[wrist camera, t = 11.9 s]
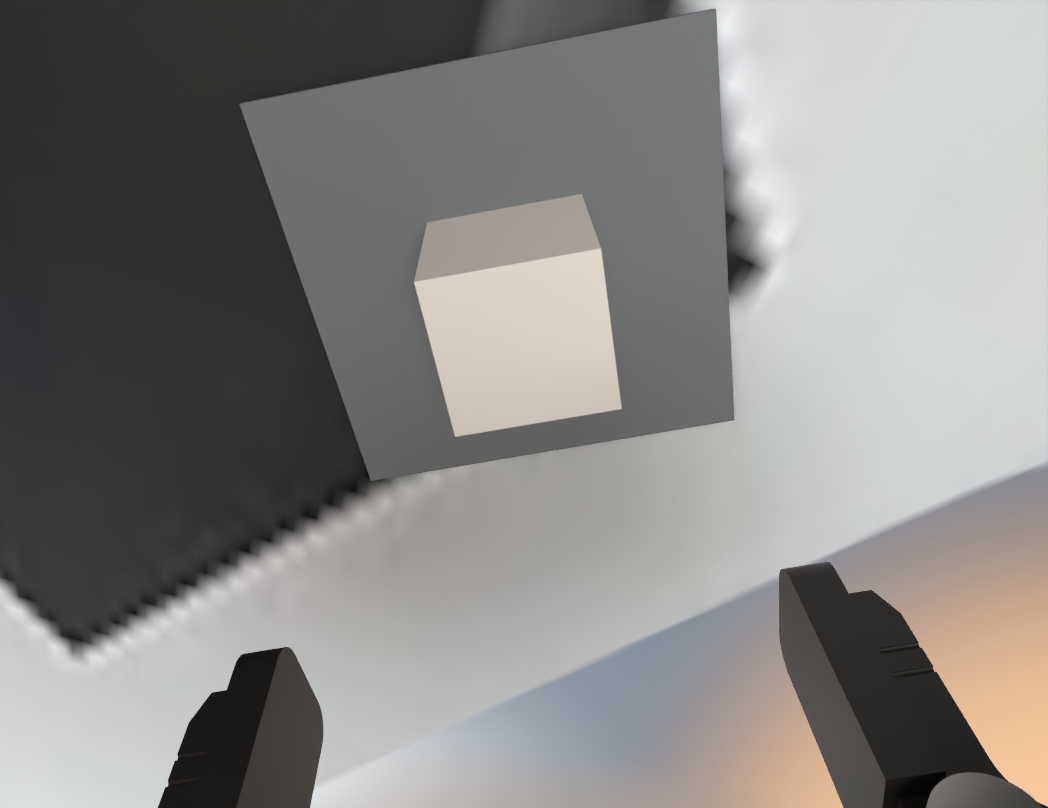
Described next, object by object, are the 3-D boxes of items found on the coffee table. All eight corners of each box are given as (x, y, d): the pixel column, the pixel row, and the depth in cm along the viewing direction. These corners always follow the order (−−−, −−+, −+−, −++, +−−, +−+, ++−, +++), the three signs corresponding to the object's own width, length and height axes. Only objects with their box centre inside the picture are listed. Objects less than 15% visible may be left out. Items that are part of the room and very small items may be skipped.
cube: (460, 358, 27) (455, 436, 23) (426, 222, 25) (413, 282, 21) (601, 334, 27) (621, 409, 23) (581, 193, 25) (601, 248, 20)
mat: (371, 478, 30) (370, 481, 30) (241, 102, 23) (239, 103, 23) (732, 417, 29) (734, 419, 29) (714, 8, 22) (715, 9, 22)
